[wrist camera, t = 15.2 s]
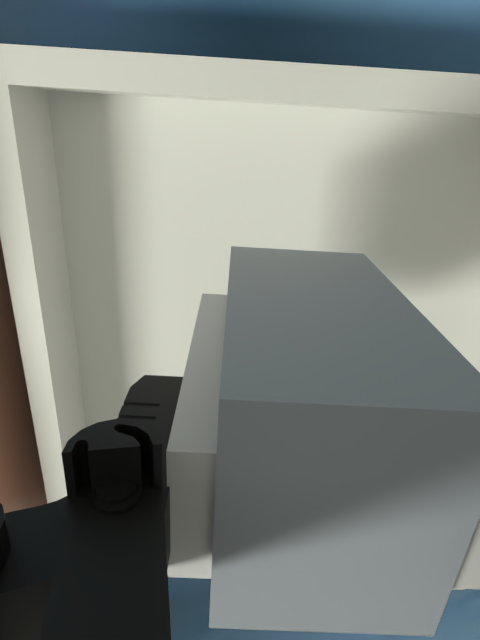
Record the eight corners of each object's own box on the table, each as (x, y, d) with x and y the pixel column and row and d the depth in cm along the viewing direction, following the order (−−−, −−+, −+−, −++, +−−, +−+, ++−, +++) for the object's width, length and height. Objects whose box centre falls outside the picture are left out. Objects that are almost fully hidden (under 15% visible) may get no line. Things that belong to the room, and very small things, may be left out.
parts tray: (439, 537, 24) (464, 589, 21) (80, 518, 24) (59, 568, 21) (599, 92, 15) (677, 86, 12) (17, 55, 15) (-35, 41, 12)
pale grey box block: (339, 388, 15) (434, 636, 8) (224, 382, 15) (208, 628, 8) (363, 254, 13) (519, 413, 6) (231, 246, 13) (219, 399, 6)
